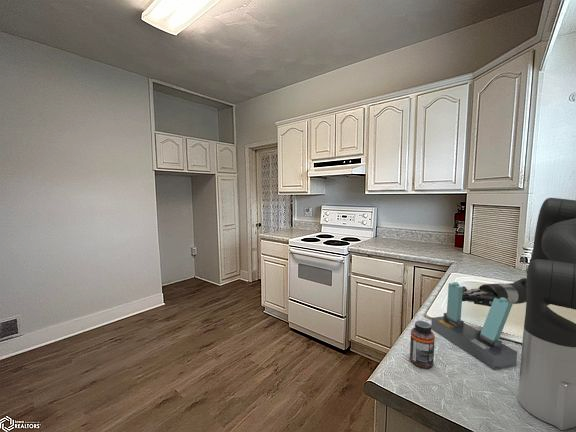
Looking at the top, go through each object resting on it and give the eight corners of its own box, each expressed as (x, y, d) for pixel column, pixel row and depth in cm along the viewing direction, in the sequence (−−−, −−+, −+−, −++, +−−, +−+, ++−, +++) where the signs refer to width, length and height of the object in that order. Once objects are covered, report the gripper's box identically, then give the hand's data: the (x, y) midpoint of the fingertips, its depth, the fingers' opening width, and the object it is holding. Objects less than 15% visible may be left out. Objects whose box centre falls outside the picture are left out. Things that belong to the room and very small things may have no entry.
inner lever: (496, 346, 73) (514, 301, 74) (491, 345, 73) (509, 299, 73) (483, 339, 77) (499, 296, 77) (478, 337, 77) (495, 294, 77)
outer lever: (460, 324, 85) (463, 284, 84) (455, 325, 85) (458, 284, 83) (450, 319, 89) (453, 280, 88) (445, 319, 88) (448, 280, 87)
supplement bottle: (412, 353, 77) (414, 316, 76) (435, 361, 73) (437, 323, 72) (407, 363, 72) (409, 324, 71) (430, 372, 68) (433, 331, 68)
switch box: (516, 365, 72) (517, 344, 71) (493, 369, 70) (495, 347, 69) (449, 326, 93) (450, 309, 92) (431, 328, 91) (432, 311, 91)
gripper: (480, 278, 96) (441, 280, 92) (519, 291, 83) (475, 294, 79) (479, 297, 97) (440, 300, 93) (517, 313, 84) (473, 317, 80)
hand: (456, 297), depth 86 cm, fingers closed
